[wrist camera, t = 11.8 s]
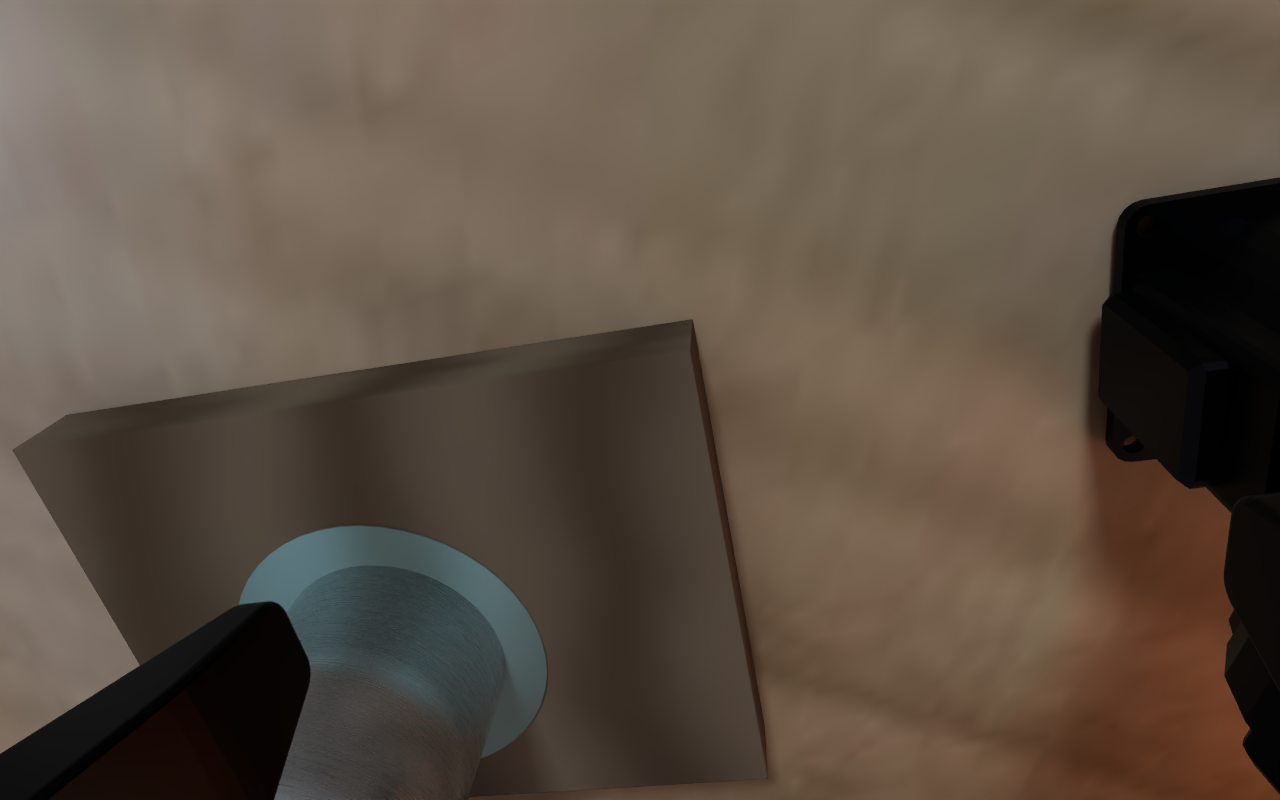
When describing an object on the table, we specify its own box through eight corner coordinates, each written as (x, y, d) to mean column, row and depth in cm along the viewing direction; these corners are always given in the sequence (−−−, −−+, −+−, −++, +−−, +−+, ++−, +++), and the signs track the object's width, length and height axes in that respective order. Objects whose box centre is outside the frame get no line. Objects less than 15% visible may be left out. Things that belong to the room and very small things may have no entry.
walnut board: (692, 319, 20) (689, 352, 19) (764, 725, 26) (768, 781, 24) (66, 415, 23) (9, 452, 21) (257, 761, 29) (225, 814, 27)
